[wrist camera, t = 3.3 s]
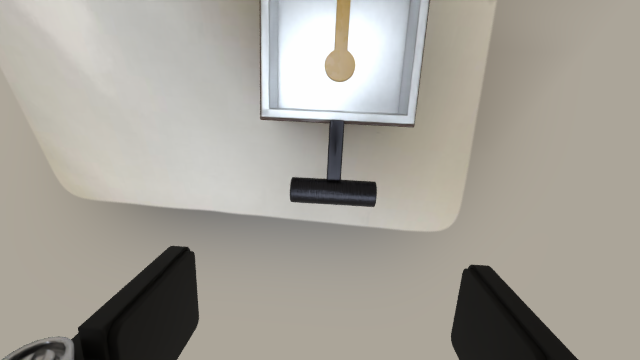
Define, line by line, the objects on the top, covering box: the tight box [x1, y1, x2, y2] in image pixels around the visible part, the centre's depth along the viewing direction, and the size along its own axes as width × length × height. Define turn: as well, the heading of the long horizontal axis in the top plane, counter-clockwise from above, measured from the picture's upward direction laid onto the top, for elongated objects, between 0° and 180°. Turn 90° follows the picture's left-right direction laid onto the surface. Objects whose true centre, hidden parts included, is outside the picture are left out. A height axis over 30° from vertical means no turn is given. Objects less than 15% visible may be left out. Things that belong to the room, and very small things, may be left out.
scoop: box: [261, 0, 429, 207], centre depth 22 cm, size 19×11×6 cm, turn 177°
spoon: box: [325, 0, 356, 82], centre depth 23 cm, size 6×2×1 cm, turn 177°
